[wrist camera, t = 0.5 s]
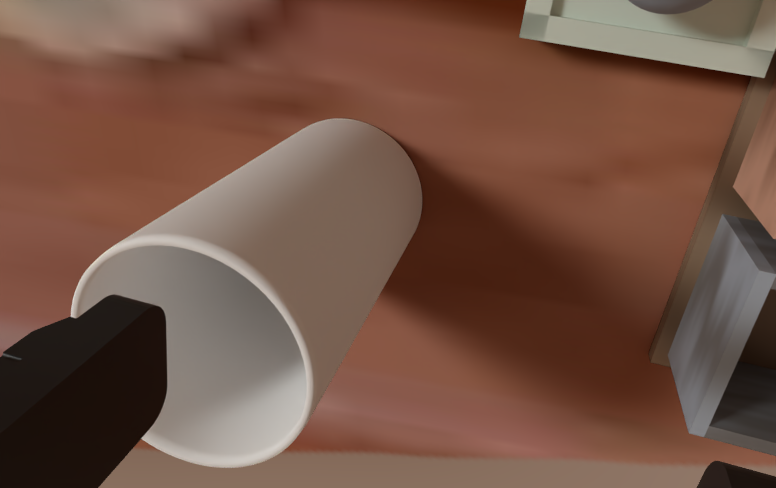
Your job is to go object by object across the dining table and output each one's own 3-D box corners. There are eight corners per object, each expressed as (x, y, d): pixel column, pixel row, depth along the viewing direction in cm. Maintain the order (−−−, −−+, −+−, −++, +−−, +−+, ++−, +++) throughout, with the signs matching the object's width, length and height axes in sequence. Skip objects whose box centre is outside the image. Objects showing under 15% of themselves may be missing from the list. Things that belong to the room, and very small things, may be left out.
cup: (445, 153, 31) (347, 307, 17) (394, 288, 35) (278, 506, 21) (294, 94, 32) (80, 194, 18) (259, 232, 36) (59, 405, 22)
